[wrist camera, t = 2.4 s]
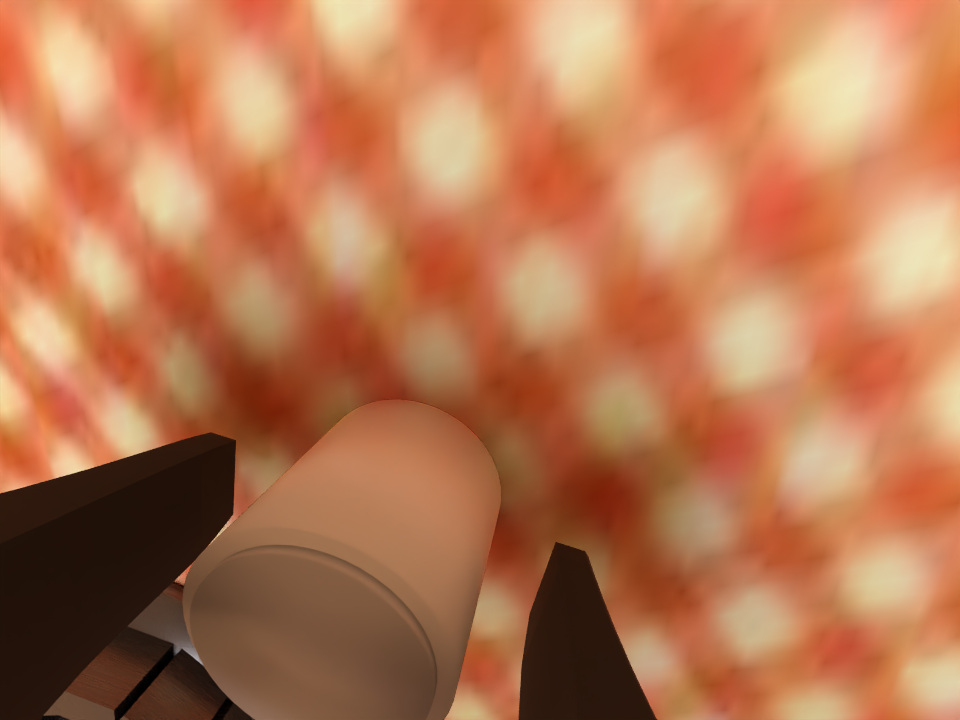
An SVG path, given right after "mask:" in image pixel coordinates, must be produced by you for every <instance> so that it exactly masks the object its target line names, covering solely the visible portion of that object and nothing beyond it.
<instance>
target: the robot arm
mask: <svg viewBox="0 0 960 720" xmlns="http://www.w3.org/2000/svg"><path fill="white" fill-rule="evenodd" d="M235 450H236V440H233V439H230V438H227V437H224V436H221V435H217V434H214V433H207V434H203V435H199V436H195V437H191V438H188V439H185V440H181V441H178V442H175V443H171V444H168V445H165V446H162V447H158V448H155V449H152V450H149V451H146V452H143V453H139V454H136V455H133V456H130V457H127V458H123V459H120V460H117V461H114V462H110V463H107V464H104V465H101V466H97V467H94V468H91V469H88V470H84V471H80V472H77V473H73V474H70V475H66V476H63V477H59V478H56V479H52V480H48V481H45V482H41V483H38V484H34V485H31V486H27V487H23V488H20V489H16V490H12V491H8V492H4V493H0V720H40V719H41V718H42V716H43V715H44V714H45V713H46V712H47V711H48V710H49V709H50V707H51V706H52V705H53V704H54V703H55V702H56V701H57V699H58V698H59V697H60V696H61V695H62V694H63V693H64V692H65V690H66V689H67V688H68V687H69V686H70V685H71V684H72V682H73V681H74V680H75V679H76V678H77V677H78V676H79V674H80V673H81V672H82V671H83V670H84V669H85V668H86V667H87V666H88V665H89V664H90V663H91V662H92V661H93V660H94V659H95V658H96V657H97V656H98V655H99V654H100V653H101V651H102V650H103V649H104V648H105V647H106V646H107V645H108V644H110V643H111V642H112V641H113V640H114V639H115V638H116V637H117V636H118V635H119V634H120V633H121V632H122V631H123V630H124V629H125V628H126V627H127V626H128V625H129V624H130V623H131V622H132V621H133V620H134V619H135V618H136V617H137V616H138V615H139V614H140V613H142V612H143V611H144V610H145V609H146V608H147V607H148V606H149V605H150V604H151V603H152V602H153V601H154V600H155V599H156V598H157V597H158V596H159V595H160V594H161V593H162V592H163V591H164V590H165V589H166V588H167V587H168V586H169V585H170V584H171V583H172V582H173V581H174V580H175V579H176V578H178V577H179V576H180V575H181V574H182V573H183V572H184V571H185V570H186V569H187V568H188V567H189V566H190V565H191V564H192V563H193V562H194V561H195V560H196V559H197V558H198V556H199V555H200V554H201V553H202V552H203V551H204V550H205V549H206V548H207V546H208V545H209V544H210V543H211V542H212V540H213V539H214V538H215V537H216V536H217V534H218V533H219V532H220V530H221V529H222V528H223V527H224V525H225V524H226V523H227V521H228V520H229V519H230V518H231V516H232V515H233V506H234V478H235ZM519 720H657V719H656V717H655V715H654V713H653V711H652V709H651V707H650V705H649V703H648V700H647V698H646V696H645V694H644V692H643V690H642V688H641V686H640V684H639V682H638V680H637V678H636V675H635V673H634V671H633V669H632V667H631V664H630V662H629V660H628V658H627V655H626V653H625V651H624V648H623V646H622V644H621V641H620V639H619V637H618V634H617V632H616V630H615V627H614V625H613V622H612V620H611V617H610V615H609V612H608V610H607V607H606V605H605V602H604V599H603V597H602V594H601V591H600V589H599V586H598V583H597V580H596V578H595V575H594V572H593V569H592V566H591V563H590V560H589V557H588V556H587V554H586V552H585V551H582V550H579V549H576V548H573V547H570V546H567V545H564V544H560V543H557V542H556V543H555V546H554V549H553V551H552V554H551V557H550V560H549V562H548V565H547V568H546V571H545V573H544V576H543V579H542V581H541V584H540V587H539V590H538V592H537V595H536V598H535V601H534V603H533V606H532V609H531V612H530V615H529V622H528V628H527V634H526V640H525V647H524V654H523V660H522V670H521V687H520V705H519Z"/></svg>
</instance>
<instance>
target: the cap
mask: <svg viewBox="0 0 960 720" xmlns="http://www.w3.org/2000/svg"><path fill="white" fill-rule="evenodd" d="M500 505H501V485H500V479H499V475H498V471H497V469H496V466H495V464H494V461H493V459H492V457H491V456H490V454H489V452H488V450H487V449H486V447H485V446H484V445H483V443H482V442H481V441H480V439H479V438H478V437H477V436H476V435H475V434H474V433H473V432H472V431H471V430H470V429H469V428H468V427H467V426H465V425H464V424H463V423H462V422H461V421H459V420H458V419H456V418H454V417H453V416H451V415H450V414H448V413H446V412H444V411H442V410H440V409H438V408H436V407H433V406H430V405H427V404H424V403H420V402H416V401H410V400H401V399H391V400H381V401H375V402H372V403H368V404H365V405H363V406H361V407H358V408H356V409H354V410H353V411H351V412H350V413H348V414H347V415H345V416H344V417H343V418H342V419H341V420H340V421H339V422H338V423H337V424H336V425H335V426H333V427H332V428H331V429H330V430H329V431H328V432H327V433H326V434H325V435H324V436H323V437H322V438H321V439H320V440H319V441H318V442H317V443H316V444H315V445H314V446H313V447H312V448H310V449H309V450H308V451H307V452H306V453H305V454H304V455H303V456H302V457H301V458H300V459H299V460H298V461H297V462H296V463H295V464H294V465H293V466H292V467H291V468H290V469H289V470H288V471H286V472H285V473H284V474H283V475H282V476H281V477H280V478H279V479H278V480H277V481H276V482H275V483H274V484H273V485H272V486H271V487H270V488H269V489H268V490H267V491H266V492H265V493H263V494H262V495H261V496H260V497H259V498H258V499H257V500H256V501H255V502H254V503H253V504H252V505H251V506H250V507H249V508H248V509H247V510H246V511H245V512H244V513H243V514H242V515H240V516H239V517H238V518H237V519H236V520H235V521H234V522H233V523H232V524H231V525H230V526H229V527H228V528H227V529H226V530H225V531H224V532H223V533H222V534H221V535H220V536H219V537H217V538H216V539H215V540H214V541H213V542H212V543H211V544H210V545H209V546H208V547H207V548H206V549H205V550H204V551H203V552H202V553H201V554H200V555H199V556H198V558H197V559H196V560H195V562H194V563H193V564H192V566H191V568H190V570H189V572H188V574H187V577H186V581H185V584H184V588H183V601H182V603H183V614H184V619H185V623H186V628H187V631H188V634H189V636H190V639H191V641H192V644H193V646H194V648H195V650H196V651H197V653H198V656H199V657H200V659H201V661H202V663H203V665H204V667H205V669H206V670H207V672H208V673H209V675H210V676H211V678H212V679H213V680H214V681H215V683H216V684H217V685H218V686H219V688H220V689H221V690H222V691H223V692H224V693H225V694H226V695H227V696H228V697H229V698H230V699H231V700H232V701H233V702H234V703H235V704H236V705H237V706H238V707H240V708H241V709H242V710H243V711H244V712H246V713H247V714H248V715H250V716H251V717H252V718H254V719H255V720H444V719H445V717H446V716H447V714H448V713H449V710H450V708H451V706H452V703H453V701H454V697H455V693H456V689H457V685H458V681H459V677H460V672H461V668H462V664H463V660H464V656H465V652H466V647H467V643H468V639H469V635H470V631H471V627H472V623H473V618H474V614H475V610H476V606H477V602H478V598H479V593H480V589H481V585H482V581H483V577H484V573H485V568H486V564H487V560H488V556H489V552H490V548H491V544H492V539H493V535H494V531H495V527H496V523H497V519H498V514H499V510H500Z"/></svg>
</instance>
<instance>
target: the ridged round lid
mask: <svg viewBox="0 0 960 720" xmlns="http://www.w3.org/2000/svg"><path fill="white" fill-rule="evenodd" d="M183 588H184V587H182V586H180V585H177V584H175V583H171V584H170V585H169V586H168V587H167V588H166V589H165V590H164V591H163V592H162V593H161V594H160V595H159V596H158V597H157V598H156V599H155V600H154V601H153V602H152V603H151V604H150V605H149V606H148V607H147V608H146V609H145V610H144V611H143V612H142V613H140V614H139V615H138V616H137V617H136V618H135V619H134V620H133V621H132V622H131V623H130V624H129V625H128V626H127V627H126V628H125V629H124V630H123V631H122V632H121V633H120V634H119V635H118V636H117V637H116V638H115V639H114V640H113V641H112V642H111V643H110V644H108V645H107V646H106V647H105V648H104V649H103V650H102V651H101V653H100V654H99V655H98V656H97V657H96V658H95V659H94V660H93V661H92V662H91V663H90V664H89V665H88V666H87V667H86V668H85V669H84V670H83V671H82V672H81V673H80V674H79V676H78V677H77V678H76V679H75V680H74V681H73V682H72V684H71V685H70V686H69V687H68V688H67V689H66V690H65V692H64V693H63V694H62V695H61V696H60V697H59V698H58V699H57V701H56V702H55V703H54V704H53V705H52V706H51V707H50V709H49V710H48V711H47V712H46V713H45V714H44V715H43V716H42V718H41V719H40V720H255V719H254V718H252V717H251V716H250V715H248V714H247V713H246V712H244V711H243V710H242V709H241V708H240V707H238V706H237V705H236V704H235V703H234V702H233V701H232V700H231V699H230V698H229V697H228V696H227V695H226V694H225V693H224V692H223V691H222V690H221V689H220V688H219V686H218V685H217V684H216V683H215V681H214V680H213V679H212V678H211V676H210V675H209V673H208V672H207V670H206V669H205V667H204V665H203V663H202V661H201V659H200V657H199V656H198V653H197V651H196V650H195V648H194V646H193V644H192V641H191V639H190V636H189V634H188V631H187V628H186V623H185V619H184V614H183V603H182V601H183Z"/></svg>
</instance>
